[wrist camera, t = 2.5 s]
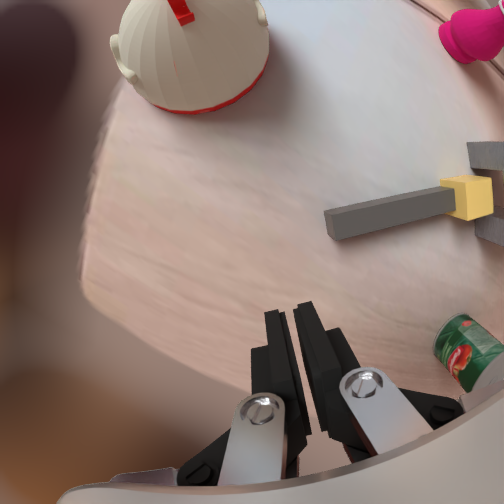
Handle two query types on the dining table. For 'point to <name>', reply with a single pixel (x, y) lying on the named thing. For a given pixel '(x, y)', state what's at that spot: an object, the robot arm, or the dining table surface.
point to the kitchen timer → (192, 51)
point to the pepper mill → (474, 34)
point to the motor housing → (500, 158)
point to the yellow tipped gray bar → (414, 207)
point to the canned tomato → (469, 353)
